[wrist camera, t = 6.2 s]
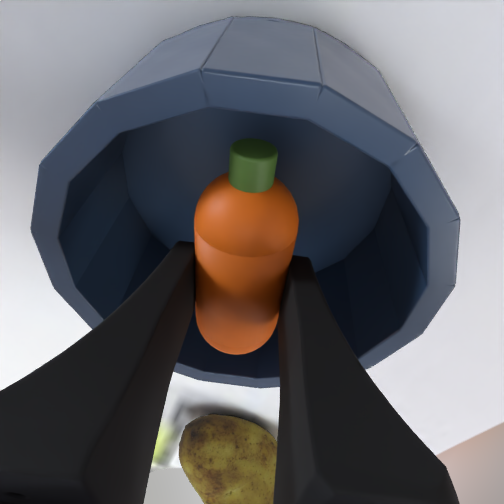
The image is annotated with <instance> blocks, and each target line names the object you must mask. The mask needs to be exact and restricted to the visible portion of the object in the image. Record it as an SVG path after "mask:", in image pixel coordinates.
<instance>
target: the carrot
mask: <svg viewBox="0 0 504 504" xmlns="http://www.w3.org/2000/svg"><path fill="white" fill-rule="evenodd" d="M277 157H278V151H277V148H276V147H275V146H274V145H273V144H271V143H269V142H267V141H265V140H261V139H255V138H245V139H240V140H237V141H235V142H234V143H233V144H232V145H231V147H230V156H229V172H227V173H224V174H222V175H220V176H218V177H217V178H216V179H214V180H213V181H212V182H211V183H210V184H209V185H208V186H207V187H206V188H205V190H204V191H203V193H202V194H201V196H200V198H199V200H198V203H197V206H196V210H195V217H194V243H195V294H196V301H195V307H196V321H197V325H198V328H199V331H200V333H201V334H202V336H203V337H204V339H205V340H206V341H207V342H208V343H209V344H210V345H211V346H213V347H214V348H216V349H217V350H219V351H221V352H224V353H227V354H234V355H239V354H246V353H249V352H252V351H254V350H256V349H258V348H260V347H261V346H262V345H263V344H265V343H266V342H267V340H268V339H269V338H270V337H271V335H272V334H273V331H274V329H275V327H276V324H277V320H278V316H279V309H280V304H281V300H282V295H283V291H284V287H285V282H286V278H287V273H288V269H289V265H290V262H291V259H292V255H293V250H294V246H295V242H296V237H297V233H298V224H299V217H298V210H297V205H296V203H295V201H294V198H293V196H292V194H291V192H290V191H289V190H288V189H287V187H286V186H285V185H284V184H283V183H282V182H281V181H280V180H279V179H277V178H276V177H275V170H276V164H277Z"/></svg>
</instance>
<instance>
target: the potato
mask: <svg viewBox="0 0 504 504" xmlns="http://www.w3.org/2000/svg"><path fill="white" fill-rule="evenodd" d="M276 456H277V441H276V440H275V438H274V437H273V436H272V435H271V434H270V433H269V432H267V431H266V430H265V429H263V428H262V427H260V426H259V425H257V424H255V423H253V422H250V421H247V420H243V419H241V418H238V417H233V416H225V415H218V414H209V415H207V416H202V417H199V418H197V419H195V420H193V421H191V422H190V423H189V424H187V425H186V426H185V429H184V431H183V434H182V437H181V441H180V443H179V460H180V463H181V466H182V468H183V470H184V472H185V474H186V476H187V477H188V479H189V481H190V483H191V484H192V486H193V487H194V489H195V490H196V492H197V493H198V494H199V496H200V497H201V499H202V501H203V502H204V504H273V497H274V483H275V470H276Z"/></svg>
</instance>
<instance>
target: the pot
mask: <svg viewBox="0 0 504 504" xmlns="http://www.w3.org/2000/svg"><path fill="white" fill-rule="evenodd" d="M245 138H255V139H261V140H265V141H267V142H269V143H271V144H273V145H274V146H275V147H276V148H277V151H278V157H277V164H276V170H275V177H276V178H277V179H279V180H280V181H281V182H282V183H283V184H284V185H285V186H286V187H287V189H288V190H289V191H290V192H291V194H292V196H293V198H294V201H295V203H296V205H297V210H298V217H299V224H298V233H297V237H296V242H295V246H294V250H293V255H296V256H304V257H309V259H310V260H311V262H312V266H313V269H314V272H315V275H316V277H317V280H318V283H319V285H320V288H321V290H322V293H323V295H324V297H325V299H326V302H327V304H328V306H329V308H330V310H331V312H332V314H333V316H334V318H335V320H336V322H337V324H338V326H339V328H340V330H341V332H342V333H343V335H344V337H345V339H346V341H347V342H348V344H349V346H350V347H351V349H352V351H353V352H354V354H355V355H356V357H357V359H358V360H359V362H360V363H361V365H362V366H363V368H364V369H368V368H371V366H374V365H376V364H377V363H379V362H380V361H382V360H383V359H385V358H387V357H388V356H390V355H391V354H393V353H394V352H396V351H397V350H399V349H400V348H402V347H403V346H405V345H406V344H408V343H410V342H411V341H413V340H414V339H416V338H417V337H419V336H420V335H421V334H423V332H424V331H425V329H426V328H427V326H428V325H429V323H430V322H431V321H432V319H433V318H434V316H435V315H436V313H437V312H438V310H439V309H440V307H441V306H442V305H443V303H444V302H445V300H446V299H447V297H448V296H449V294H450V293H451V292H452V290H453V289H454V287H455V284H456V273H457V259H458V245H459V232H460V217H459V213H458V211H457V209H456V207H455V206H454V204H453V202H452V200H451V198H450V197H449V195H448V193H447V191H446V189H445V188H444V186H443V184H442V182H441V180H440V179H439V177H438V175H437V173H436V171H435V170H434V168H433V166H432V164H431V162H430V161H429V159H428V157H427V155H426V153H425V152H424V150H423V148H422V146H421V144H420V143H419V141H418V139H417V137H416V135H415V134H414V132H413V130H412V128H411V126H410V125H409V123H408V121H407V119H406V118H405V116H404V114H403V112H402V110H401V109H400V107H399V105H398V103H397V102H396V100H395V98H394V96H393V94H392V93H391V91H390V89H389V87H388V85H387V84H386V82H385V80H384V78H383V77H382V75H381V73H380V71H378V70H377V68H376V67H375V66H373V65H372V64H370V63H369V62H367V61H366V60H365V59H364V58H362V57H361V56H360V55H359V54H357V53H356V52H355V51H353V50H352V49H351V48H350V47H348V46H347V45H346V44H344V43H342V42H341V41H339V40H337V39H335V38H333V37H332V36H330V35H328V34H326V33H325V32H322V31H320V30H319V29H317V28H313V27H312V26H307V25H304V24H301V23H297V22H292V21H287V20H282V19H278V18H267V17H237V16H236V17H233V16H232V17H229V18H226V19H222V20H219V21H215V22H211V23H207V24H204V25H200V26H198V27H195V28H193V29H191V30H189V31H186V32H184V33H182V34H180V35H177V36H175V37H172V38H169V39H166V40H163V41H162V42H161V43H159V44H158V45H157V46H156V47H155V48H154V49H153V50H152V51H150V52H149V53H148V54H147V55H146V56H145V57H144V58H143V59H142V60H141V61H139V62H138V63H137V64H136V65H135V66H134V67H133V68H132V69H131V70H130V71H128V72H127V73H126V74H125V75H124V76H123V77H122V78H121V79H120V80H118V81H117V82H116V83H115V84H114V85H113V86H112V87H111V88H110V89H109V90H107V91H106V92H105V93H104V94H103V95H102V96H101V97H100V98H99V99H97V100H96V101H95V102H94V103H93V104H92V105H91V107H90V108H89V109H88V110H87V111H86V112H85V113H84V114H83V115H82V116H81V118H80V119H79V120H78V121H77V122H76V123H75V124H74V125H73V126H72V128H71V129H70V130H69V131H68V132H67V133H66V134H65V135H64V136H63V138H62V139H61V140H60V141H59V142H58V143H57V144H56V145H55V146H54V147H53V149H52V150H51V151H50V152H49V153H48V154H47V155H46V156H45V157H44V159H43V160H42V161H41V163H40V165H39V170H38V178H37V185H36V192H35V200H34V207H33V214H32V221H31V233H32V236H33V238H34V240H35V243H36V245H37V248H38V250H39V253H40V255H41V258H42V260H43V263H44V265H45V268H46V270H47V273H48V275H49V278H50V280H51V283H52V285H53V287H54V289H55V290H56V291H57V292H58V293H59V294H60V295H61V296H62V297H63V299H64V300H65V301H66V302H67V303H68V304H69V305H70V306H71V307H72V308H73V309H74V310H75V311H76V312H77V313H78V315H79V316H80V317H81V318H82V319H83V320H84V321H85V322H86V323H87V324H88V325H89V326H90V327H91V328H92V329H94V328H95V327H96V326H98V325H99V324H100V323H101V322H102V321H103V320H105V319H106V318H107V317H108V316H109V315H110V314H112V313H113V312H114V311H115V310H116V309H117V308H118V307H119V306H120V305H121V304H122V303H123V302H124V301H125V300H126V299H127V298H128V297H129V296H130V295H131V294H132V293H133V292H135V291H136V290H137V289H138V287H139V286H140V285H141V284H142V283H143V282H144V281H145V280H146V279H147V278H148V277H149V275H150V274H151V273H152V272H153V271H154V270H155V269H156V268H157V266H158V265H159V264H160V263H161V262H162V260H163V259H164V258H165V257H166V255H167V254H168V253H169V252H170V250H171V249H172V248H173V246H174V245H175V244H176V242H178V241H179V240H180V241H188V242H194V217H195V210H196V206H197V203H198V200H199V198H200V196H201V194H202V193H203V191H204V190H205V188H206V187H207V186H208V185H209V184H210V183H211V182H212V181H213V180H214V179H216V178H217V177H218V176H220V175H222V174H224V173H227V172H229V156H230V147H231V145H232V144H233V143H234V142H235V141H237V140H240V139H245ZM278 317H279V316H278ZM173 372H176V373H179V374H182V375H185V376H188V377H191V378H194V379H197V380H202V381H208V382H216V383H223V384H231V385H239V386H246V387H254V388H271V387H280V373H279V343H278V320H277V324H276V327H275V329H274V331H273V334H272V335H271V337H270V338H269V339H268V340H267V342H266V343H265V344H263V345H262V346H261V347H260V348H258V349H256V350H254V351H252V352H249V353H246V354H239V355H234V354H227V353H224V352H221V351H219V350H217V349H216V348H214V347H213V346H211V345H210V344H209V343H208V342H207V341H206V340H205V339H204V337H203V336H202V334H201V333H200V331H199V328H198V325H197V321H196V307H195V305H194V310H193V314H192V317H191V320H190V323H189V326H188V329H187V332H186V335H185V338H184V341H183V344H182V347H181V350H180V353H179V356H178V359H177V362H176V365H175V368H174V371H173Z"/></svg>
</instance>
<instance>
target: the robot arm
mask: <svg viewBox="0 0 504 504" xmlns="http://www.w3.org/2000/svg"><path fill="white" fill-rule="evenodd" d="M195 301H196V294H195V243H194V242H188V241H180V240H179V241H178V242H176V244H175V245H174V246H173V248H172V249H171V250H170V252H169V253H168V254H167V255H166V257H165V258H164V259H163V260H162V262H161V263H160V264H159V265H158V266H157V268H156V269H155V270H154V271H153V272H152V273H151V274H150V275H149V277H148V278H147V279H146V280H145V281H144V282H143V283H142V284H141V285H140V286H139V287H138V289H137V290H136V291H135V292H133V293H132V294H131V295H130V296H129V297H128V298H127V299H126V300H125V301H124V302H123V303H122V304H121V305H120V306H119V307H118V308H117V309H116V310H115V311H114V312H113V313H112V314H110V315H109V316H108V317H107V318H106V319H105V320H103V321H102V322H101V323H100V324H99V325H98V326H96V327H95V328H94V329H93V330H91V331H90V332H89V333H88V334H86V335H85V336H84V337H82V338H81V339H80V340H78V341H77V342H76V343H75V344H73V345H72V346H70V347H69V348H68V349H66V350H65V351H63V352H62V353H61V354H59V355H58V356H56V357H55V358H53V359H52V360H50V361H48V362H47V363H45V364H44V365H42V366H41V367H39V368H38V369H36V370H35V371H33V372H32V373H30V374H29V375H27V376H25V377H24V378H22V379H20V380H19V381H17V382H15V383H14V384H12V385H10V386H8V387H7V388H5V389H3V390H1V391H0V504H143V503H144V498H145V493H146V487H147V483H148V478H149V473H150V468H151V464H152V459H153V454H154V449H155V445H156V440H157V436H158V431H159V427H160V422H161V418H162V413H163V409H164V405H165V401H166V396H167V392H168V388H169V384H170V381H171V377H172V374H173V371H174V368H175V365H176V362H177V359H178V356H179V353H180V350H181V347H182V344H183V341H184V338H185V335H186V332H187V329H188V326H189V323H190V320H191V317H192V314H193V310H194V305H195ZM278 343H279V373H280V408H279V425H278V441H277V456H276V470H275V483H274V497H273V504H459V501H458V497H457V494H456V491H455V489H454V486H453V484H452V481H451V478H450V476H449V473H448V471H447V468H446V466H445V465H444V464H443V463H442V462H441V461H440V460H439V459H438V458H437V457H436V456H435V455H434V454H433V452H432V451H431V450H430V449H429V448H428V447H427V446H426V445H425V444H424V443H423V442H422V441H421V440H420V438H419V437H418V436H417V435H416V434H415V433H414V432H413V431H412V430H411V428H410V427H409V426H408V425H407V424H406V422H405V421H404V420H403V419H402V418H401V417H400V415H399V414H398V413H397V412H396V411H395V409H394V408H393V407H392V405H391V404H390V403H389V402H388V400H387V399H386V398H385V396H384V395H383V394H382V392H381V391H380V390H379V389H378V387H377V386H376V385H375V383H374V382H373V381H372V379H371V378H370V376H369V375H368V373H367V372H366V371H365V369H364V368H363V366H362V365H361V363H360V362H359V360H358V359H357V357H356V355H355V354H354V352H353V351H352V349H351V347H350V346H349V344H348V342H347V341H346V339H345V337H344V335H343V333H342V332H341V330H340V328H339V326H338V324H337V322H336V320H335V318H334V316H333V314H332V312H331V310H330V308H329V306H328V304H327V302H326V299H325V297H324V295H323V293H322V290H321V288H320V285H319V283H318V280H317V277H316V275H315V272H314V269H313V266H312V262H311V260H310V259H309V257H304V256H296V255H292V259H291V262H290V265H289V269H288V273H287V278H286V282H285V287H284V291H283V295H282V300H281V304H280V309H279V317H278Z"/></svg>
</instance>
